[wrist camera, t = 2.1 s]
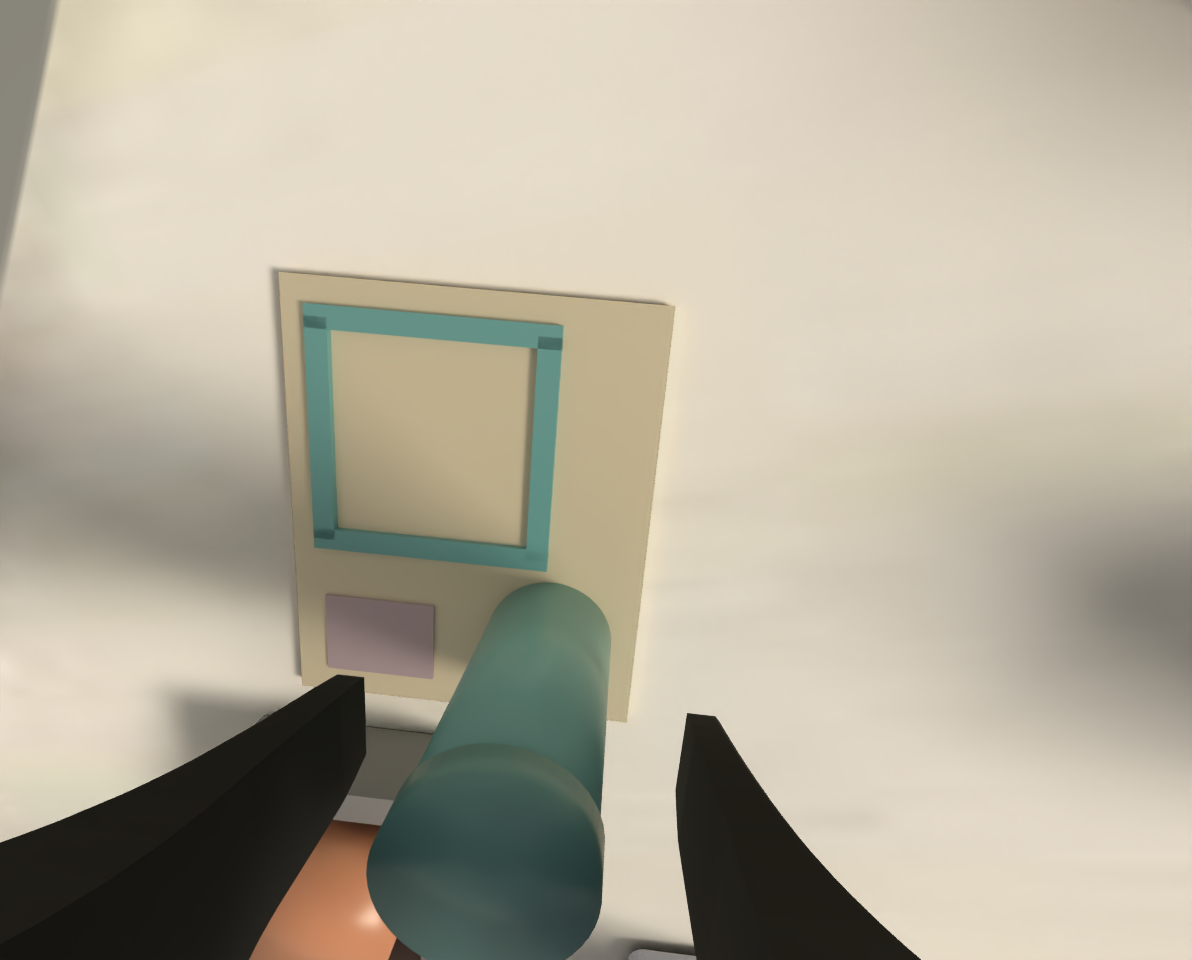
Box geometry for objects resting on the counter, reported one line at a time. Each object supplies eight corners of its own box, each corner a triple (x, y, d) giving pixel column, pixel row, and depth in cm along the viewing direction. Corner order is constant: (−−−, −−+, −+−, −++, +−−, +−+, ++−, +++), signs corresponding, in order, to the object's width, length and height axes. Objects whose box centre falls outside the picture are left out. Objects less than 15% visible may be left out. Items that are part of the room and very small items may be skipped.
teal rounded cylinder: (608, 702, 16) (591, 991, 9) (482, 688, 17) (368, 962, 9) (620, 586, 15) (612, 806, 8) (487, 572, 16) (363, 776, 8)
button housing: (473, 909, 19) (449, 995, 17) (278, 883, 19) (225, 965, 17) (479, 739, 17) (454, 807, 15) (264, 714, 18) (203, 777, 15)
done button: (421, 919, 17) (387, 1013, 15) (286, 902, 18) (231, 992, 15) (421, 807, 16) (385, 889, 14) (277, 790, 16) (217, 867, 14)
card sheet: (626, 715, 17) (626, 727, 16) (307, 679, 17) (298, 689, 17) (674, 307, 14) (676, 305, 13) (285, 273, 14) (273, 270, 14)
